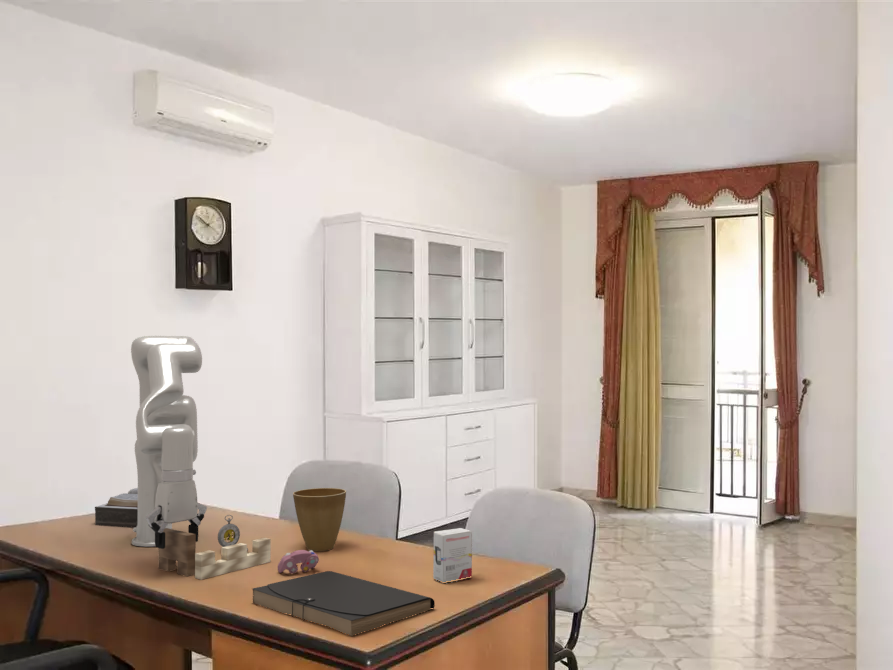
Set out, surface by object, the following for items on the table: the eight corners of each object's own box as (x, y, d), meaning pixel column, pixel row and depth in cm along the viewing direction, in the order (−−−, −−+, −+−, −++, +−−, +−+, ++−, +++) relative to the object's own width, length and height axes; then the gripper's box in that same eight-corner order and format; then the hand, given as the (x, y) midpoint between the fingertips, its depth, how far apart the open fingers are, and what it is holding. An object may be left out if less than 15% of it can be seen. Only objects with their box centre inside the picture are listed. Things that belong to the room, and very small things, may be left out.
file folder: (250, 587, 187) (334, 568, 205) (250, 605, 187) (334, 585, 205) (350, 618, 165) (434, 594, 183) (350, 640, 165) (434, 613, 183)
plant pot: (340, 540, 249) (340, 486, 249) (350, 552, 235) (350, 494, 235) (289, 544, 244) (289, 488, 244) (296, 556, 230) (296, 497, 230)
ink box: (461, 574, 211) (461, 527, 212) (473, 579, 207) (473, 530, 207) (432, 579, 207) (432, 531, 207) (443, 584, 202) (443, 534, 203)
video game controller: (280, 581, 211) (284, 559, 208) (275, 569, 214) (279, 547, 212) (318, 576, 215) (322, 554, 213) (312, 564, 219) (316, 543, 216)
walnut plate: (158, 568, 217) (158, 529, 217) (166, 567, 219) (166, 528, 219) (187, 576, 210) (187, 535, 210) (195, 574, 211) (195, 534, 212)
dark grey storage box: (199, 517, 286) (199, 487, 287) (136, 532, 263) (136, 500, 263) (150, 511, 297) (150, 482, 298) (84, 524, 274) (85, 494, 274)
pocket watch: (241, 556, 230) (241, 519, 230) (212, 555, 231) (212, 518, 232) (254, 549, 238) (254, 513, 238) (226, 548, 239) (226, 512, 240)
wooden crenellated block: (201, 579, 207) (201, 554, 207) (195, 578, 208) (195, 553, 208) (270, 561, 224) (270, 538, 224) (264, 560, 226) (264, 537, 226)
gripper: (196, 471, 224) (196, 536, 223) (138, 479, 210) (137, 548, 209) (214, 473, 219) (214, 540, 219) (156, 481, 205) (155, 552, 205)
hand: (177, 544), depth 214 cm, fingers open, 9 cm apart
